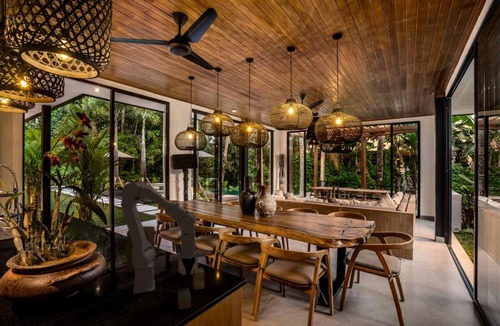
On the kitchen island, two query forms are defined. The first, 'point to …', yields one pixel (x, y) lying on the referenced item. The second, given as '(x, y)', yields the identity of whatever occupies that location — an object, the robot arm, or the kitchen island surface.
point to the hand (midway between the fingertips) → (188, 276)
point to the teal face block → (184, 298)
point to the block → (150, 238)
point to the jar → (181, 266)
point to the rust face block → (198, 278)
